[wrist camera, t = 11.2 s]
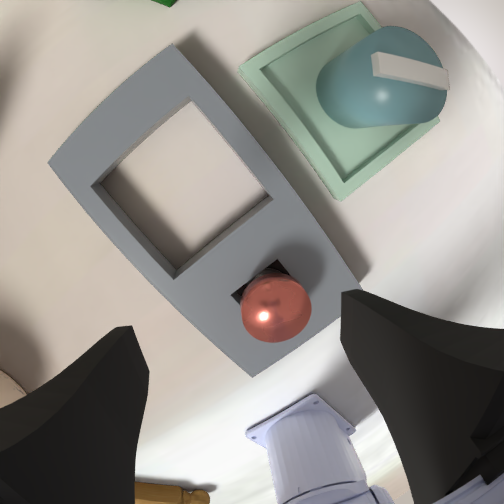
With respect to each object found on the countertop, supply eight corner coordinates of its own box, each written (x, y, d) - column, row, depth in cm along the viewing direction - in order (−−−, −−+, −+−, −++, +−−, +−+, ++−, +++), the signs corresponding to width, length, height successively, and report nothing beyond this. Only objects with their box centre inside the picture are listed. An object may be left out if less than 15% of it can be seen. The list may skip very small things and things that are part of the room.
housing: (357, 286, 21) (366, 295, 20) (250, 364, 22) (252, 377, 21) (175, 52, 15) (172, 43, 13) (59, 160, 16) (47, 162, 14)
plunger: (308, 290, 20) (323, 315, 17) (261, 324, 21) (269, 353, 18) (273, 247, 19) (285, 267, 16) (224, 285, 20) (227, 311, 16)
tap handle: (6, 461, 22) (209, 504, 26) (12, 447, 25) (208, 485, 29) (15, 472, 23) (210, 512, 27) (21, 458, 26) (209, 494, 30)
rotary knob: (380, 63, 16) (447, 37, 9) (385, 130, 17) (458, 129, 11) (312, 54, 15) (363, 11, 9) (318, 127, 17) (375, 116, 10)
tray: (430, 121, 18) (440, 121, 17) (333, 198, 19) (341, 201, 18) (353, 7, 14) (360, 1, 13) (237, 71, 16) (239, 66, 14)
